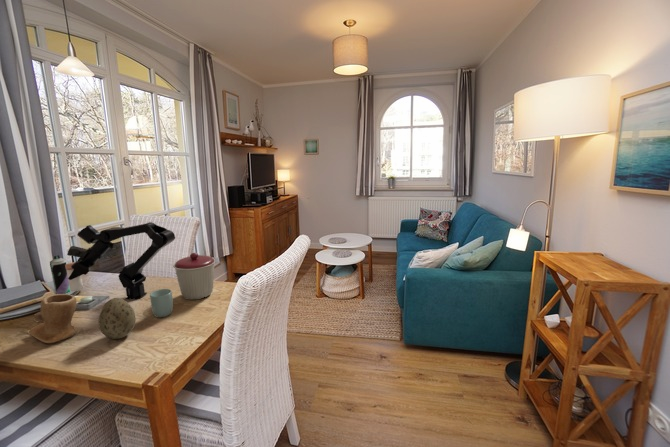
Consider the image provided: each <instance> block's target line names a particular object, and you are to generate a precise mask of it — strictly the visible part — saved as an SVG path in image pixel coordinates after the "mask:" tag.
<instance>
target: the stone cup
mask: <svg viewBox="0 0 670 447" xmlns="http://www.w3.org/2000/svg"><path fill="white" fill-rule="evenodd" d="M75 296H76V295H73V294H72V295H70V294H56V293H54V294H51V295H48V296H46V297H44V298H43V299H41V302H40V311H41V316H42V318H43V320H44V322H41V323H40V324H37V325H35V326H34V327H31V328H30V329H29V330H28V334H30V336H32V337H33V338H35V339H37V340H38V341H41V342H42V343H45V344H51V343H52V344H54V343H57V342H60V341H63V340H66V339H67V338H70V337H72V336H74V335H75V334H76V333H77V329H76V328H75V326H73V325H72V320H73V317H74V314H75V311H76V310H75V309H76V298H75Z"/></svg>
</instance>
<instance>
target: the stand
mask: <svg viewBox="0 0 670 447" xmlns="http://www.w3.org/2000/svg"><path fill="white" fill-rule="evenodd" d="M33 318H34V322H36V323H37V322H38V323H40V322H41V323H44V320H43V318H42V316H41V310H40V311H38V312H36V313H35V314H33Z"/></svg>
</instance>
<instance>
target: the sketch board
mask: <svg viewBox="0 0 670 447" xmlns="http://www.w3.org/2000/svg"><path fill="white" fill-rule="evenodd" d="M74 296H75V298H76V309H75V311H76V310H77V311H83V310H84V311H88V310H89V311H90V310H91V309H93V308H95V307H96V306H98V305H99V304H102V302H105V301H106V300H108V299H109V298H110V296H109V295H90V296H91V297H92V300H93V301H92V302H90V303H86V304H81V301H80V299H81V298H83V297H88V296H89V295H74Z"/></svg>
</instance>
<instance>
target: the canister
mask: <svg viewBox="0 0 670 447" xmlns="http://www.w3.org/2000/svg"><path fill="white" fill-rule="evenodd" d="M215 264H216V259H215V258H214V257H211V256H210V255H204V254H202V255H201V254H200V255H199V253H197V252H192V253H191V254H189V256H187V257H183V258H180V259H178V260H177V261H175V262H174V263H173V264H172V268H174V269H175V274H176V278H177V282H178V283H177V284H178V287H179V290H180V294H181V295H182V297H183V298H185V299H186V300H188V301H189V300H191V301H195V300H200V299H201V300H202V299H204V297H205V298H207V297H208V296H210V295H211V294H212V292H213V290H214V278H215Z"/></svg>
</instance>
